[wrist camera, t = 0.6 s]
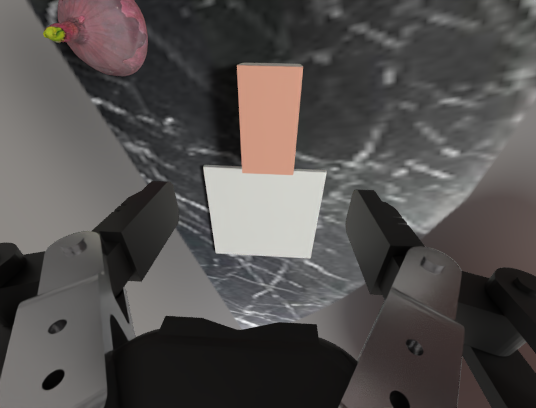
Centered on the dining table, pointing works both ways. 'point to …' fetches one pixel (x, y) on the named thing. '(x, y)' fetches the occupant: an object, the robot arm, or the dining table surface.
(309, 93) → the dining table surface
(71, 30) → the vegetable
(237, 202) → the mat
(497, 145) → the dining table surface
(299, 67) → the card box
